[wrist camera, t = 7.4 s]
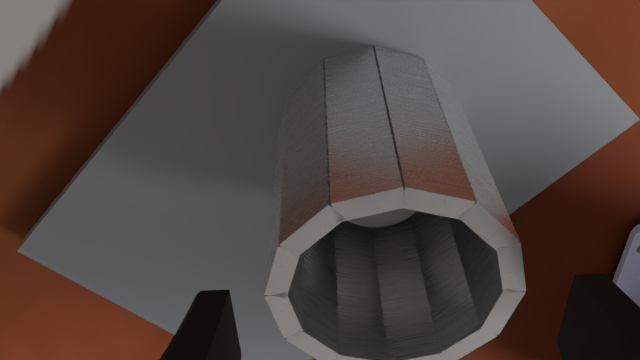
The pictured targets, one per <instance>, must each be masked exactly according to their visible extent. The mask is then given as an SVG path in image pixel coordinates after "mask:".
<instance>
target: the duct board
mask: <svg viewBox="0 0 640 360" xmlns="http://www.w3.org/2000/svg"><path fill="white" fill-rule="evenodd" d="M369 46H373V49H374V46H379V47H383V48H387V49H391V50H395V51H400V52H404V53H408V54H412V55H416V56H420V57H422V58H424V59H425V60H426V61H427V62H428V63H429V64H430V65H431V66H432V67H433V68H434V69H435V70H436V71H437V72H438V73H439V74H440V75H441V76H442V77H443V78H444V79H445V80H446V81H447V82H448V83H449V84H450V85H451V86H452V87H453V88H454V90H455V92H456V94H457V97H458V99H459V101H460V104H461V106H462V108H463V110H464V113H465V115H466V117H467V120H468V122H469V124H470V127H471V129H472V131H473V134H474V136H475V138H476V141H477V143H478V145H479V147H480V150H481V152H482V154H483V157H484V159H485V161H486V164H487V166H488V168H489V171H490V173H491V175H492V177H493V180H494V182H495V184H496V187H497V189H498V191H499V194H500V196H501V198H502V201H503V203H504V205H505V208H506V210H507V212H508V214H509V215H510V214H511V213H513V212H514V211H515V210H517V209H518V208H519V207H521V206H522V205H524V204H525V203H526V202H528V201H529V200H530V199H532V198H533V197H534V196H536V195H537V194H539V193H540V192H541V191H543V190H544V189H545V188H547V187H548V186H550V185H551V184H552V183H554V182H555V181H556V180H558V179H559V178H560V177H562V176H563V175H565V174H566V173H567V172H569V171H570V170H571V169H573V168H574V167H576V166H577V165H578V164H580V163H581V162H582V161H584V160H585V159H586V158H588V157H589V156H591V155H592V154H593V153H595V152H596V151H597V150H599V149H600V148H602V147H603V146H604V145H606V144H607V143H608V142H610V141H611V140H612V139H614V138H615V137H617V136H618V135H619V134H621V133H622V132H623V131H625V130H626V129H628V128H629V127H630V126H632V125H633V124H634V123H636V122H637V121H639V120H640V119H639V118H638V117H637V116H636V115H635V113H634V112H633V111H632V110H631V109H630V108H629V107H628V106H627V105H626V104H625V103H624V101H623V100H622V99H621V98H620V97H619V96H618V95H617V94H616V93H615V92H614V90H613V89H612V88H611V87H610V86H609V85H608V84H607V83H606V82H605V81H604V79H603V78H602V77H601V76H600V75H599V74H598V73H597V72H596V71H595V70H594V68H593V67H592V66H591V65H590V64H589V63H588V62H587V61H586V60H585V59H584V57H583V56H582V55H581V54H580V53H579V52H578V51H577V50H576V49H575V48H574V46H573V45H572V44H571V43H570V42H569V41H568V40H567V39H566V38H565V37H564V35H563V34H562V33H561V32H560V31H559V30H558V29H557V28H556V27H555V26H554V24H553V23H552V22H551V21H550V20H549V19H548V18H547V17H546V16H545V15H544V13H543V12H542V11H541V10H540V9H539V8H538V7H537V6H536V5H535V4H534V3H533V1H532V0H217V1H216V2H215V3H214V5H213V6H212V7H211V8H210V9H209V11H208V12H207V13H206V14H205V16H204V17H203V18H202V19H201V21H200V22H199V23H198V24H197V25H196V27H195V28H194V29H193V30H192V32H191V33H190V34H189V35H188V37H187V38H186V39H185V40H184V41H183V43H182V44H181V45H180V46H179V48H178V49H177V50H176V51H175V52H174V54H173V55H172V56H171V57H170V59H169V60H168V61H167V62H166V64H165V65H164V66H163V67H162V68H161V70H160V71H159V72H158V73H157V75H156V76H155V77H154V78H153V80H152V81H151V82H150V83H149V84H148V86H147V87H146V88H145V89H144V91H143V92H142V93H141V94H140V95H139V97H138V98H137V99H136V100H135V102H134V103H133V104H132V105H131V107H130V108H129V109H128V110H127V111H126V113H125V114H124V115H123V116H122V118H121V119H120V120H119V121H118V123H117V124H116V125H115V126H114V127H113V129H112V130H111V131H110V132H109V134H108V135H107V136H106V137H105V138H104V140H103V141H102V142H101V143H100V145H99V146H98V147H97V148H96V150H95V151H94V152H93V153H92V154H91V156H90V157H89V158H88V159H87V161H86V162H85V163H84V164H83V166H82V167H81V168H80V169H79V170H78V172H77V173H76V174H75V175H74V177H73V178H72V179H71V180H70V181H69V183H68V184H67V185H66V186H65V188H64V189H63V190H62V191H61V193H60V194H59V195H58V196H57V197H56V199H55V200H54V201H53V202H52V204H51V205H50V206H49V207H48V209H47V210H46V211H45V212H44V213H43V215H42V216H41V217H40V218H39V220H38V221H37V222H36V223H35V225H34V226H33V227H32V228H31V229H30V231H29V232H28V233H27V235H26V236H25V238H24V240H23V241H22V243H21V245H20V246H19V248H18V250H17V252H19V253H21V254H23V255H25V256H27V257H29V258H30V259H32V260H34V261H36V262H38V263H40V264H42V265H44V266H46V267H47V268H49V269H51V270H53V271H55V272H57V273H59V274H61V275H63V276H64V277H66V278H68V279H70V280H72V281H74V282H76V283H78V284H80V285H81V286H83V287H85V288H87V289H89V290H91V291H93V292H95V293H96V294H98V295H100V296H102V297H104V298H106V299H108V300H110V301H112V302H113V303H115V304H117V305H119V306H121V307H123V308H125V309H127V310H129V311H130V312H132V313H134V314H136V315H138V316H140V317H142V318H144V319H146V320H147V321H149V322H151V323H153V324H155V325H157V326H159V327H161V328H162V329H164V330H166V331H168V332H170V333H172V334H174V335H175V333H176V332H177V330H178V328H179V326H180V325H181V323H182V321H183V319H184V317H185V316H186V314H187V312H188V310H189V308H190V306H191V304H192V302H193V300H194V298H195V296H196V295H197V294H198V293H199V292H200V291H206V290H230V296H231V301H232V306H233V311H234V317H235V322H236V327H237V332H238V338H239V343H240V348H241V360H311V359H313V358H314V357H312V356H311V355H309V354H307V353H306V352H304V351H303V350H301V349H299V348H298V347H296V346H295V345H293V344H291V343H290V342H288V341H286V340H285V338H284V337H283V335H282V333H281V331H280V329H279V327H278V325H277V323H276V320H275V318H274V316H273V314H272V312H271V310H270V308H269V306H268V303H267V301H266V299H265V297H264V290H265V279H266V267H267V256H268V245H269V233H270V222H271V211H272V199H273V188H274V177H275V165H276V154H277V143H278V132H279V128H280V124H281V120H282V116H283V112H284V108H285V104H286V100H287V96H288V93H289V91H290V90H291V89H292V88H293V87H294V86H295V85H296V84H297V83H298V82H299V81H300V80H302V79H303V78H304V77H305V76H306V75H307V74H308V73H309V72H310V71H311V70H312V69H313V68H314V67H315V66H316V65H317V64H318V63H319V62H320V61H321V60H322V59H323V60H324V58H327V57H331V56H335V55H339V54H342V53H346V52H350V51H354V50H357V49H361V48H365V47H369ZM415 212H416V211H414V210H409V209H404V208H401V209H396V210H392V211H387V212H383V213H378V214H374V215H370V216H365V217H361V218H356V219H352V220H347V221H349V222H351V223H354V224H357V225H360V226H364V227H385V226H390V225H394V224H397V223H399V222H401V221H403V220H405V219H407V218H408V217H410V216H411V215H413V214H414V213H415Z"/></svg>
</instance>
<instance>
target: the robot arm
mask: <svg viewBox="0 0 640 360" xmlns="http://www.w3.org/2000/svg"><path fill="white" fill-rule="evenodd" d="M638 246H640V224H639V225H637V226H635V227H634V228H633V229H632V231H631V232H630V235H629V238H628V240H627V243H626V246H625V248H624V251H623V254H622V257H621V259H620V262H619V265H618V267H617V270H616V273H615V276H614V278H613V281H612V280H610V279H609V278H608V277H607V276H606V275H605V274H590V275H575V276H574V279H573V283H572V287H571V291H570V294H569V298H568V302H567V306H566V310H565V313H564V317H563V321H562V325H561V328H560V332H559V336H558V340H557V342H558V346H559V350H560V353H561V357H562V360H640V247H638ZM160 360H241V348H240V343H239V338H238V332H237V327H236V322H235V317H234V311H233V306H232V301H231V296H230V290H206V291H200V292H199V293H198V294H197V295H196V296H195V298H194V300H193V302H192V304H191V306H190V308H189V310H188V312H187V314H186V316H185V317H184V319H183V321H182V323H181V325H180V326H179V328H178V330H177V332H176V333H175V335H174V337H173V339H172V340H171V342H170V344H169V345H168V347H167V349H166V350H165V352H164V353H163V355H162V357H161V358H160Z"/></svg>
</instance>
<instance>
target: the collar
mask: <svg viewBox="0 0 640 360" xmlns="http://www.w3.org/2000/svg"><path fill="white" fill-rule="evenodd" d="M401 208H404V209H409V210H414V211H416V212H415V213H414V214H413V215H411V216H410V217H408V218H407V219H405V220H403V221H401V222H399V223H397V224H394V225H390V226H385V227H364V226H360V225H357V224H354V223H351V222H349V221H347V220H352V219H356V218H361V217H365V216H370V215H374V214H378V213H383V212H387V211H392V210H396V209H401ZM525 291H526V284H525V275H524V266H523V258H522V249H521V242H520V240H519V238H518V235H517V233H516V231H515V228H514V226H513V224H512V221H511V219H510V217H509V214H508V212H507V210H506V208H505V205H504V203H503V201H502V198H501V196H500V194H499V191H498V189H497V187H496V184H495V182H494V180H493V177H492V175H491V173H490V171H489V168H488V166H487V164H486V161H485V159H484V157H483V154H482V152H481V150H480V147H479V145H478V143H477V141H476V138H475V136H474V134H473V131H472V129H471V127H470V124H469V122H468V120H467V117H466V115H465V113H464V110H463V108H462V106H461V104H460V101H459V99H458V97H457V94H456V92H455V90H454V88H453V87H452V86H451V85H450V84H449V83H448V82H447V81H446V80H445V79H444V78H443V77H442V76H441V75H440V74H439V73H438V72H437V71H436V70H435V69H434V68H433V67H432V66H431V65H430V64H429V63H428V62H427V61H426V60H425V59H424V58H422V57H420V56H416V55H412V54H408V53H404V52H400V51H395V50H391V49H387V48H383V47H379V46H374V49H373V46H369V47H365V48H361V49H357V50H354V51H350V52H346V53H342V54H339V55H335V56H331V57H327V58H324V60H323V59H322V60H321V61H320V62H319V63H318V64H317V65H316V66H315V67H314V68H313V69H312V70H311V71H310V72H309V73H308V74H307V75H306V76H305V77H304V78H303V79H302V80H300V81H299V82H298V83H297V84H296V85H295V86H294V87H293V88H292V89H291V90H290V91H289V93H288V96H287V100H286V104H285V108H284V112H283V116H282V120H281V124H280V128H279V132H278V143H277V154H276V165H275V177H274V188H273V199H272V211H271V222H270V233H269V245H268V256H267V267H266V279H265V290H264V297H265V299H266V301H267V303H268V306H269V308H270V310H271V312H272V314H273V316H274V318H275V320H276V323H277V325H278V327H279V329H280V331H281V333H282V335H283V337H284V338H285V340H286V341H288V342H290V343H291V344H293V345H295V346H296V347H298V348H299V349H301V350H303V351H304V352H306V353H307V354H309V355H311V356H312V357H314V358H315V359H317V360H458V359H460V358H461V357H463V356H465V355H467V354H468V353H470V352H472V351H473V350H475V349H477V348H478V347H480V346H482V345H483V344H485V343H487V342H488V341H490V340H492V339H493V338H495V337H497V335H499V334H500V332H501V331H502V329H503V327H504V326H505V324H506V323H507V321H508V320H509V318H510V316H511V315H512V313H513V312H514V310H515V309H516V307H517V305H518V304H519V302H520V301H521V299H522V297H523V296H524V294H525V293H526V292H525Z"/></svg>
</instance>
